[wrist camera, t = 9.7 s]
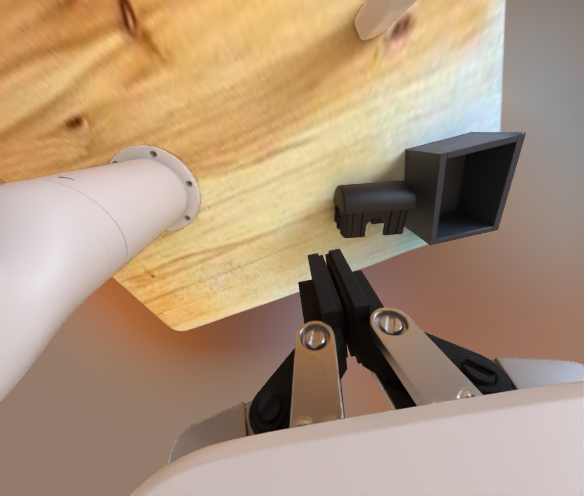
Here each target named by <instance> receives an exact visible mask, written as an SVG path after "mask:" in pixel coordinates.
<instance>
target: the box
mask: <svg viewBox="0 0 584 496" xmlns="http://www.w3.org/2000/svg"><path fill="white" fill-rule="evenodd" d="M525 134H526V133H525V132H471V133H467V134H463V135H459V136H455V137H452V138H448V139H444V140H440V141H436V142H432V143H428V144H425V145H421V146H417V147H413V148H409V149H406V155H405V181H408V182H410V183H411V184H412V185H413V187H414V189H415V192H416V208H415V209H408V211H407V215H406V220H405V224H404V226H405V227H406V228H408V229H409V230H410V231H412V232H413V233H414V234H416V235H417V236H418V237H420V238H421V239H423V240H424V241H425V242H427V243H428V244H429V245H434V244H438V243H442V242H447V241H451V240H456V239H459V238H464V237H469V236H473V235H478V234H482V233H486V232H491V231H495V230H498V227H499V224H500V220H501V217H502V214H503V210H504V207H505V203H506V200H507V196H508V192H509V190H510V186H511V183H512V179H513V176H514V172H515V169H516V165H517V162H518V158H519V155H520V151H521V148H522V144H523V141H524V138H525Z"/></svg>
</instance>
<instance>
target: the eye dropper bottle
mask: <svg viewBox="0 0 584 496" xmlns="http://www.w3.org/2000/svg"><path fill="white" fill-rule="evenodd" d="M415 1H417V0H366V1H365V3H364V4H363V6H362V7H361V9H360V10H359V12H358V14H357V16H356V18H355V26H356V29H357V32H358V34H359V37H360V39H361V40H363V41H364V40H369V39H372V38H374V37H376V36H378V35H379V34H381V33H382V32H383V31H385V30H386V29H387V28H388V27H389V26H390V25H391V24H392V23H393V22H394V21H396V20H397V19H398V18H399V17H400V16H401V15H402V14H403V13H404V12H405V11H406V10H407V9H408V8H409V7H410V6H411V5H412V4H413V3H414V2H415Z"/></svg>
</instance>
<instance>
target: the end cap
mask: <svg viewBox="0 0 584 496" xmlns="http://www.w3.org/2000/svg"><path fill="white" fill-rule="evenodd" d="M334 203H335V219H334V220H335V222H336V223H337V228H338V230H340V234H341V235H342V236H343V237H344V238H356V237H365V229H366V225H367V223H368V222H369V221H371V223H372V224H377V223H384V229H383V235H395V234H402V233H403V228H404V224H405V220H406V215H407V211H408V209H415V208H416V192H415V189H414V187H413V185H412V184H411V183H410V182H408V181H395V182H381V183H367V184H353V185H340V186H338V187H337V188H336V190H335V194H334Z"/></svg>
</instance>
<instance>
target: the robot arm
mask: <svg viewBox="0 0 584 496" xmlns="http://www.w3.org/2000/svg"><path fill="white" fill-rule="evenodd" d="M155 152H156V153H157V155H156V154H155ZM190 181H191V182H192V184H190ZM199 207H200V191H199V187H198V184H197V182H196V179H195V178H194V176H193V175H192V173H191V171H190V170H189V169H188V168H187V167H186V165H185V164H184V163H183V162H181V161H180V160H179V159H178V158H177V157H175V156H174V155H172V154H171V153H169V152H167V151H165V150H162V149H160V148H157V147H153V146H144V145H139V146H131V147H127V148H124V149H122V150H121V151H119V152H117V153H116V154H115V155H114V156H113V157H112V159H111V161H110V162H109V164H107V165H102V166H96V167H91V168H86V169H80V170H75V171H70V172H64V173H59V174H54V175H48V176H43V177H37V178H32V179H27V180H20V181H15V182H10V183H5V184H1V185H0V401H1V400H2V399H3V398H4V397H5V396H6V395H7V394H8V393H9V392H10V391H11V390H12V388H13V387H14V386H15V385H16V384H17V383H18V382H19V380H20V379H21V378H22V377H23V375H24V374H25V373H26V372H27V370H28V369H29V368H30V367H31V365H32V364H33V363H34V361H35V360H36V359H37V358H38V356H39V355H40V354H41V352H42V350H43V349H44V348H45V347H46V346H47V344H48V343H49V341H50V340H51V339H52V337H53V336H54V335H55V334H56V332H57V331H58V330H59V329H60V328H61V326H62V325H63V324H64V323H65V321H66V320H67V319H68V318H69V317H70V316H71V315H72V314H73V313H74V312H75V311H76V309H77V308H78V307H79V306H80V305H81V304H82V303H83V302H84V301H85V300H86V299H87V298H88V297H89V296H91V295H92V294H93V293H94V292H95V291H96V290H97V289H98V288H99V287H100V286H102V285H103V284H104V283H105V282H106V281H107V280H108V279H110V278H111V277H112V276H113V275H114V274H115V273H116V272H118V271H119V270H120V269H121V268H122V267H124V266H125V265H126V264H127V263H128V262H129V261H131V260H132V259H133V258H134V257H135V256H136V255H137V254H139V253H140V252H141V251H142V250H143V249H144V248H145V247H147V246H148V245H149V244H150V243H151V242H152V241H154V240H155V239H156V238H157V237H158V236H159V235H160V234H162V233H163V232H169V231H176V230H179V229H182V228H184V227H185V226H187V225H188V224H189V223H190V222H191V221H192V220H193V219H194V218H195V217H196V215H197V213H198V211H199ZM188 216H189V217H188ZM325 256H326V263H325V260H324V258H323V255H320V256H319V255H318V253H316V254H311V255H308V260H309V265H310V271H311V276H312V280H307V281H302V282H298V283H299V290H300V297H301V304H302V310H303V317H304V325H303V326H301V327H300V329H299V330H298V332H297V335H296V344H295V348H294V350H293V351H292V352H291V353H290V355H289V356H288V357H287V358H286V359H285V361H284V362H283V363H282V364H281V365H280V367H279V368H278V369H277V370H276V372H275V373H274V374H273V375H272V376H271V377H270V379H269V380H268V381H267V382H266V384H265V385H264V386H263V387H262V389H261V390H260V391H259V392H258V393H257V395H256V396H255V398H254V399H253V400H252V401H250V402H248V403H246V404H244V402H241V403H239V404H237V405H235V406H233V407H230V408H228V409H226V410H224V411H221V412H219V413H217V414H215V415H213V416H211V417H208V418H206V419H204V420H202V421H199V422H197V423H195V424H193V425H191V426H189V427H188V428H186V429H185V430H184V431H183V432H182V433H181V434H180V435H179V436H178V437H177V439H176V441H175V442H174V444H173V446H172V448H171V452H170V455H169V458H168V464H167V466H165V467H164V468H162V469H161V470H160V471H158V472H157V473H155V475H153V476H151V477H150V478H149V479H148V480H146V481H145V482H144V483H143V484H142V485H141V486H139V487H138V488H137V489H136V490H135V491H134V492H133V493H132V494H131V495H130V496H584V365H582V364H579V363H576V362H571V361H566V360H547V359H526V358H504V357H496V358H495V360H490V359H488V358H486V357H484V356H482V355H480V354H477V353H475V352H472V351H470V350H467V349H465V348H463V347H460V346H457V345H455V344H453V343H450V342H448V341H445V340H443V339H440V338H438V337H435V336H433V335H430V334H428V333H425V332H423V331H422V330H421V329H420V328H419V327H418V326H417V325H416V324H415V323H414V321H413V320H412V319H411V318H410V317H409V316H408V315H406V314H405V313H404V312H402V311H400V310H398V309H394V308H387V307H385V308H384V306H383V305H382V303H381V301H380V300H379V298H378V297H377V295H376V293H375V292H374V291H373V288H372V287H371V285H370V284H369V282H368V280H367V279H366V277H365V275H364V274H363V272H362V271H361V270H358V271H353V272H352V270H351V269H350V267H349V265H348V263H347V261H346V259H345V258H344V256H343V254H342V252H341V250H340V249H336V250H331V251H329V254H326V255H325ZM326 264H327V265H326ZM346 343H347V344H346ZM347 346H348V349H349V352H350V355H351V356H356V359H357V362H358V363H362V365H363V366H364V367H366V368H367V369H369V370H371V374H372V376H373V378H374V380H375V382H376V383H377V385H378V387H379V389H380V390H381V392H382V394H383V396H384V398H385V400H386V402H387V403H388V405H389V407H390V409H391V411H387V412H381V413H375V414H369V415H363V416H358V417H351V418H346V419H345V412H344V403H343V395H342V387H341V378H342V377H343V375H344V373H345V372H346V370H347V362H346V358H347V357H348V354H347Z"/></svg>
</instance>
